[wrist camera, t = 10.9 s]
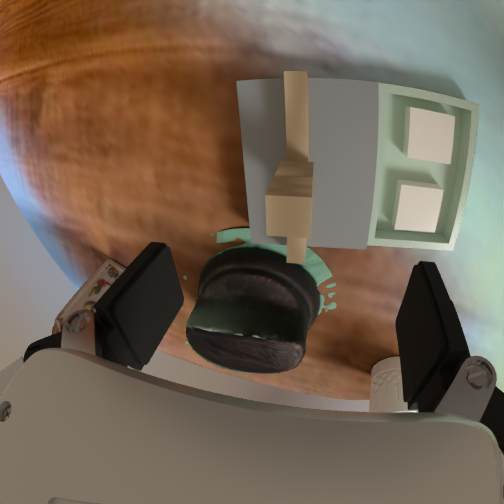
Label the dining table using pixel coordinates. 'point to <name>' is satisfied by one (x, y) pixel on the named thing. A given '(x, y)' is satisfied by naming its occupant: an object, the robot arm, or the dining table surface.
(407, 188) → the tile
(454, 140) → the tray
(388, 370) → the white cup
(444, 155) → the tile
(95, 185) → the dining table surface
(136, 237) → the dining table surface
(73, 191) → the dining table surface
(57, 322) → the decorative jar
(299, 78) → the tan bar
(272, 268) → the dark round cap
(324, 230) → the board
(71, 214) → the dining table surface
